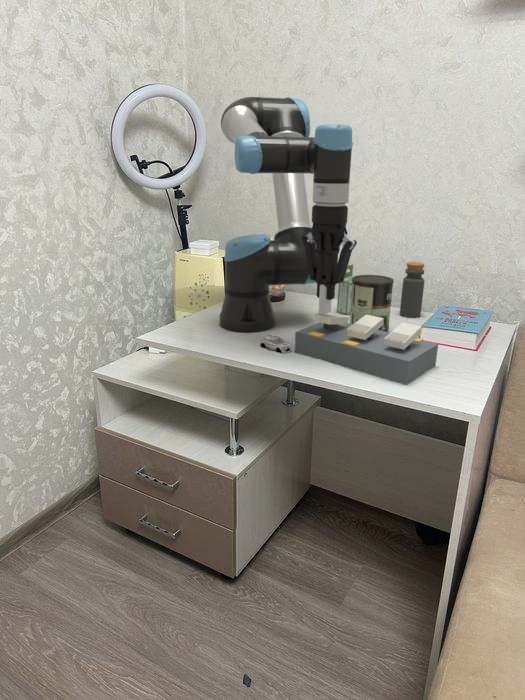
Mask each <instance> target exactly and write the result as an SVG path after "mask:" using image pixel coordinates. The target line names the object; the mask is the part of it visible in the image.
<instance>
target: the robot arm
mask: <svg viewBox="0 0 525 700" xmlns="http://www.w3.org/2000/svg"><path fill="white" fill-rule="evenodd" d="M310 123H311V118H310V112H309V109H308V106H307V104H306V103H305V102H304V100H302V99H299V98H292V97H285V98H283V97H281V98H280V97H263V96H262V97H261V96H260V97H258V96H247V97H242V98H239V99H237V100H235V101H233V102H231V103H230V104H229V105H228V106H226V108H225V109H224V111H223V113H222V115H221V119H220V127H221V131H222V133H223V135H224V137H225V138H226V139H227V140H228V141H229V142H231V143H232V144H234V164H235V169H236V170H237V172H239V173H241V174H251V175H254V174H255V175H256V174H272V182H273V191H274V199H275V200H274V201H275V209H276V217H277V226H278V230H277V232H275V234H274V235H273V240H272V238H271V237H270V235H268V234H265V233H263V234H262V233H261V234H248V235H242V236H236V237H234V238H231V239H230V240H228V241H227V242H226V244H225V246H224V247H225V248H224V258H223V259H224V260H223V261H224V265H225V267H224V268H225V269H224V274H225V276H224V277H225V279H224V280H225V281H224V283H225V286H224V287H225V290H224V291H225V295H224V299H223V303H222V307H221V312H220V313H219V316H218V317H219V319H218V321H219V326H220V327H221V328H223V329H225V330H229V331H234V332H241V333H242V332H243V333H246V332H247V333H249V332H250V333H251V332H252V333H253V332H255V333H256V332H260V331H261V332H262V331H266V330H270V329H272V328H273V327H275V325H276V314H275V312H274V309H273V304H272V301H271V297H270V286H274V285H275V286H281V285H282V286H287V285H289V286H290V285H303V286H304V285H309V284H316V286H317V287H316V296H317V298H318V313H319V314H331V311H332V300H334V298H335V294H336V293H335V292H336V285H337V284H338V285H339V283H341V282H343V281H344V278H345V274H346V273H347V270H348V269H347V267H348V265H349V263H350V259H351V255H352V253H353V250H354V248H356V246H357V244H358V242H357V240H356V239H351V237H349V236H348V230H347V223H348V217H349V216H348V215H349V207H348V205H346V204H348V203H349V197H350V177H351V166H352V165H351V163H352V154H353V153H352V149H353V145H354V143H353V129H352V127H351V126H350V125H347V124H340V123H339V124H334V123H333V124H331V123H330V124H329V123H327V124H319V125H317V126H316V127H315V131H314V137H313V136H310V134H311V125H310ZM305 174H309V175H310V174H311V175H313V176H312V177H313V178H312V179H313V180H312V182H313V183H312V184H313V185H312V202H313V203H314V205H313V206H312V207H311V219H310V213H309V205H308V196H307V190H306V189H307V188H306V181H305ZM310 221H311V222H310ZM311 223H312V225H311ZM341 246H342V248H341ZM340 249H341V250H340Z"/></svg>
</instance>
